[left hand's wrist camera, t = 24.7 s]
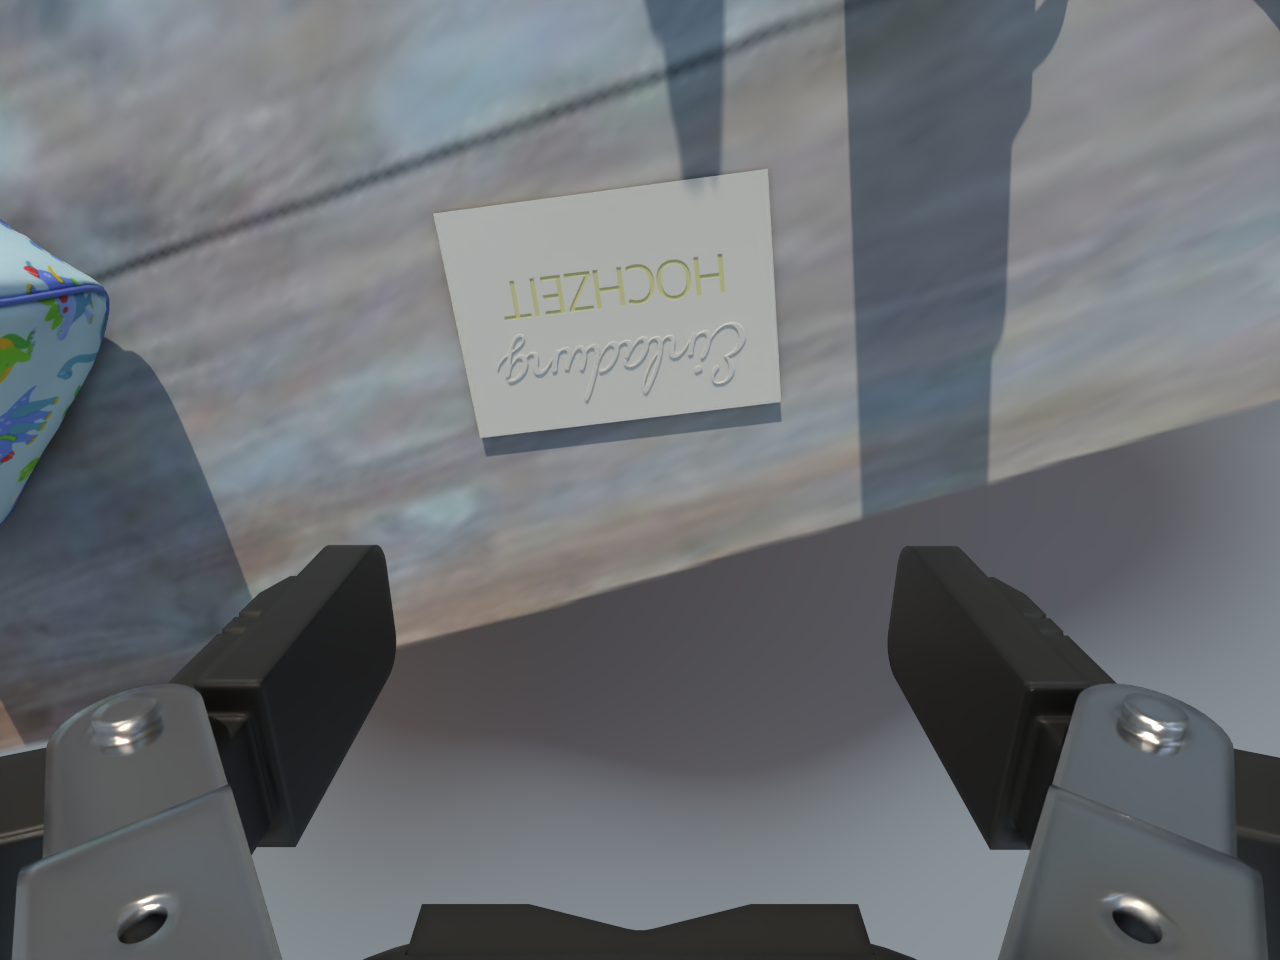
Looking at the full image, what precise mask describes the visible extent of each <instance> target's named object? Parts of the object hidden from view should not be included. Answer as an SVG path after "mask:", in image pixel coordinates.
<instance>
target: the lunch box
mask: <svg viewBox="0 0 1280 960" xmlns="http://www.w3.org/2000/svg"><path fill="white" fill-rule="evenodd" d="M108 315H109V297H108V294H107V292H106V291H105V290H104V288H103V286H102V285H101V284H100V283H98V282H97V281H95V280H94V279H92V278H91V277H89V276H87V275H86V274H84V273H82V272H80V271H79V270H77V269H75V268H73V267H72V266H70V265H69V264H67V263H65V262H64V261H62V260H60V259H59V258H57V257H55V256H54V255H52V254H50V253H48V252H47V251H45V250H44V249H42V248H41V247H39V246H38V245H36V244H35V243H34V242H33V241H31V240H30V239H29V238H28V237H27V236H25V235H23V234H20V233H18V232H16V231H15V230H13V229H12V228H10V227H9V226H8V225H7V224H6V223H5V222H4V221H2V220H1V219H0V524H1V523H2V522H3V521H4V520H5V519H6V518H7V517H8V515H9V514H10V512H11V511H12V509H13V508H14V506H15V505H16V503H17V501H18V499H19V497H20V495H21V493H22V491H23V489H24V487H25V484H26V482H27V480H28V478H29V476H30V474H31V473H32V471H33V469H34V467H35V465H36V464H37V462H38V460H39V459H40V457H41V455H42V453H43V451H44V450H45V448H46V446H47V445H48V443H49V442H50V440H51V439H52V437H53V436H54V434H55V433H56V431H57V430H58V428H59V426H60V424H61V422H62V420H63V418H64V416H65V414H66V412H67V410H68V409H69V407H70V405H71V404H72V402H73V401H74V399H75V397H76V396H77V394H78V392H79V390H80V388H81V386H82V385H83V383H84V381H85V379H86V377H87V375H88V374H89V372H90V370H91V368H92V366H93V364H94V361H95V359H96V357H97V354H98V351H99V348H100V345H101V343H102V340H103V337H104V333H105V329H106V325H107V320H108Z"/></svg>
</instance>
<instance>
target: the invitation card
mask: <svg viewBox="0 0 1280 960" xmlns="http://www.w3.org/2000/svg"><path fill="white" fill-rule="evenodd" d="M433 215H434V220H435V225H436V229H437V234H438V239H439V244H440V249H441V253H442V258H443V263H444V268H445V272H446V277H447V282H448V287H449V291H450V296H451V301H452V306H453V311H454V315H455V320H456V325H457V330H458V334H459V339H460V344H461V349H462V354H463V358H464V363H465V368H466V373H467V377H468V382H469V387H470V392H471V397H472V401H473V406H474V411H475V416H476V420H477V425H478V430H479V435H480V438H485V437H494V436H502V435H510V434H519V433H527V432H535V431H544V430H552V429H560V428H569V427H577V426H585V425H594V424H602V423H610V422H619V421H627V420H635V419H644V418H652V417H660V416H669V415H677V414H685V413H694V412H702V411H710V410H719V409H727V408H735V407H744V406H752V405H760V404H769V403H777V402H781V390H780V373H779V355H778V338H777V320H776V303H775V285H774V268H773V250H772V233H771V215H770V198H769V180H768V169H762V170H755V171H747V172H740V173H733V174H725V175H718V176H710V177H703V178H695V179H688V180H680V181H673V182H665V183H658V184H650V185H643V186H635V187H628V188H621V189H613V190H606V191H598V192H591V193H583V194H576V195H568V196H561V197H553V198H546V199H538V200H531V201H523V202H516V203H509V204H501V205H494V206H486V207H479V208H471V209H464V210H456V211H449V212H441V213H434V214H433Z"/></svg>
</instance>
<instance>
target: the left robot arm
mask: <svg viewBox="0 0 1280 960" xmlns="http://www.w3.org/2000/svg"><path fill="white" fill-rule="evenodd" d="M395 652H396V632H395V625H394V617H393V610H392V602H391V595H390V588H389V580H388V573H387V566H386V560H385V556H384V553H383V550H382V549H381V547H380V546H378V545H328V546H326V547H324V548H323V549H322V550H321V551H320V552H319V553H318V554H317V555H316V557H315V558H314V559H313V560H312V561H311V562H310V563H309V564H308V565H307V566H306V567H305V568H304V569H303V570H302V571H301V572H300V573H299V574H298V575H297V576H290V577H288V578H286V579H284V580H282V581H281V582H279V583H277V584H275V585H273V586H272V587H270V588H268V589H266V590H264V591H262V592H261V593H259V594H258V595H257V596H256V597H255V598H254V599H253V600H252V601H251V602H250V603H249V604H248V605H247V606H246V607H245V608H244V609H243V610H242V611H241V612H240V613H239V617H235V618H234V619H233V620H232V621H231V622H230V623H229V624H228V625H227V626H225V627H224V628H223V629H222V634H217V635H216V636H215V637H214V638H213V639H212V640H211V641H210V642H209V643H208V644H207V645H206V646H205V647H204V648H203V649H202V650H201V651H200V652H199V653H198V654H197V655H196V656H195V657H194V658H193V659H192V660H191V661H190V662H189V663H188V664H187V665H186V666H185V667H184V668H183V669H182V670H181V671H180V672H179V673H178V674H177V675H176V676H175V677H174V678H173V679H172V680H171V681H170V682H169V683H168V684H155V685H147V686H142V687H137V688H134V689H130V690H126V691H123V692H120V693H117V694H114V695H112V696H109V697H107V698H104V699H102V700H100V701H98V702H96V703H94V704H92V705H90V706H88V707H86V708H84V709H83V710H81V711H80V712H78V713H76V714H75V715H74V716H72V717H71V718H69V719H68V720H67V721H66V722H64V723H63V724H62V725H61V726H60V727H59V728H58V729H57V730H56V731H55V733H54V734H53V735H52V736H51V738H50V740H49V742H48V744H47V748H42V749H38V750H32V751H27V752H22V753H17V754H12V755H7V756H2V757H0V960H282V957H281V954H280V951H279V947H278V944H277V941H276V937H275V934H274V930H273V927H272V924H271V920H270V917H269V914H268V910H267V907H266V904H265V900H264V897H263V894H262V890H261V887H260V883H259V880H258V877H257V873H256V870H255V867H254V863H253V860H252V856H251V855H252V854H253V852H254V850H255V849H256V847H296V845H297V843H298V841H299V840H300V838H301V836H302V834H303V832H304V830H305V829H306V827H307V825H308V823H309V821H310V819H311V818H312V816H313V814H314V812H315V810H316V809H317V807H318V805H319V803H320V801H321V799H322V798H323V796H324V794H325V792H326V790H327V788H328V787H329V785H330V783H331V781H332V779H333V778H334V776H335V774H336V772H337V770H338V768H339V767H340V765H341V763H342V761H343V759H344V757H345V756H346V754H347V752H348V750H349V748H350V747H351V745H352V743H353V741H354V739H355V737H356V736H357V734H358V732H359V730H360V728H361V726H362V725H363V723H364V721H365V719H366V717H367V715H368V714H369V712H370V710H371V708H372V706H373V705H374V703H375V701H376V699H377V697H378V695H379V694H380V692H381V690H382V688H383V686H384V685H385V683H386V681H387V679H388V677H389V675H390V673H391V670H392V667H393V664H394V659H395ZM888 655H889V661H890V666H891V669H892V672H893V675H894V677H895V679H896V681H897V682H898V684H899V686H900V688H901V690H902V691H903V693H904V695H905V697H906V699H907V701H908V702H909V704H910V706H911V708H912V710H913V711H914V713H915V715H916V717H917V719H918V720H919V722H920V724H921V726H922V727H923V729H924V731H925V733H926V735H927V737H928V738H929V740H930V742H931V744H932V746H933V747H934V749H935V751H936V753H937V755H938V756H939V758H940V760H941V762H942V764H943V765H944V767H945V769H946V771H947V773H948V774H949V776H950V778H951V780H952V782H953V783H954V785H955V787H956V789H957V791H958V792H959V794H960V796H961V798H962V800H963V801H964V803H965V805H966V807H967V809H968V810H969V812H970V814H971V816H972V818H973V819H974V821H975V823H976V825H977V827H978V828H979V830H980V832H981V834H982V836H983V837H984V839H985V841H986V843H987V845H988V846H989V848H990V849H991V850H1030V853H1029V857H1028V860H1027V863H1026V866H1025V870H1024V873H1023V877H1022V880H1021V883H1020V887H1019V890H1018V893H1017V897H1016V900H1015V904H1014V907H1013V910H1012V914H1011V917H1010V920H1009V924H1008V927H1007V931H1006V934H1005V937H1004V941H1003V944H1002V947H1001V951H1000V954H999V958H998V960H1280V758H1278V757H1273V756H1268V755H1263V754H1258V753H1253V752H1248V751H1243V750H1237V749H1233V744H1232V742H1231V740H1230V738H1229V736H1228V735H1227V734H1226V733H1225V732H1224V730H1223V729H1222V728H1221V727H1220V726H1219V725H1218V724H1217V723H1215V722H1214V721H1213V720H1212V719H1211V718H1209V717H1208V716H1206V715H1205V714H1204V713H1202V712H1200V711H1199V710H1197V709H1196V708H1194V707H1192V706H1190V705H1188V704H1186V703H1184V702H1182V701H1180V700H1178V699H1175V698H1173V697H1171V696H1168V695H1166V694H1163V693H1160V692H1157V691H1154V690H1150V689H1146V688H1142V687H1137V686H1133V685H1125V684H1117V683H1116V682H1115V681H1114V680H1113V679H1112V678H1111V677H1110V676H1109V675H1107V674H1106V673H1105V672H1104V671H1103V670H1102V669H1101V668H1100V667H1099V666H1098V665H1097V664H1096V663H1095V662H1094V661H1093V660H1092V659H1091V658H1090V657H1089V656H1088V655H1087V654H1086V653H1085V652H1084V651H1083V650H1082V649H1081V648H1080V647H1079V646H1078V645H1077V644H1076V643H1075V642H1074V641H1073V640H1072V639H1071V638H1070V637H1068V636H1064V635H1063V631H1062V630H1061V629H1060V628H1059V627H1058V626H1057V625H1056V624H1055V623H1054V622H1053V621H1052V620H1051V619H1047V618H1046V614H1045V613H1044V612H1043V611H1042V610H1041V609H1040V608H1039V607H1038V606H1037V605H1036V604H1035V603H1034V602H1033V601H1032V600H1031V599H1030V598H1029V597H1028V596H1026V595H1025V594H1024V593H1022V592H1020V591H1018V590H1016V589H1015V588H1013V587H1011V586H1009V585H1007V584H1005V583H1004V582H1002V581H1000V580H998V579H996V578H994V577H987V576H986V575H985V574H984V573H983V572H982V571H981V570H980V569H979V568H978V567H977V565H976V564H975V563H974V562H973V561H972V560H971V559H970V558H969V557H968V556H967V555H966V554H965V553H964V552H963V551H962V550H961V549H960V548H959V547H957V546H906V547H905V548H904V549H903V550H902V552H901V554H900V557H899V560H898V566H897V573H896V581H895V588H894V595H893V603H892V610H891V617H890V624H889V631H888ZM364 960H916V959H914V958H912V957H909V956H906V955H904V954H901V953H898V952H895V951H893V950H890V949H887V948H884V947H881V946H877V945H873V944H870V941H869V938H868V934H867V931H866V928H865V925H864V922H863V919H862V916H861V913H860V909H859V906H858V904H750V905H746V906H742V907H738V908H734V909H730V910H726V911H722V912H718V913H714V914H710V915H706V916H702V917H698V918H694V919H690V920H686V921H682V922H678V923H674V924H670V925H666V926H662V927H659V928H654V929H650V930H631V929H626V928H622V927H618V926H614V925H610V924H606V923H602V922H598V921H594V920H590V919H586V918H582V917H578V916H574V915H570V914H566V913H562V912H558V911H554V910H550V909H546V908H542V907H538V906H534V905H530V904H422V906H421V909H420V913H419V916H418V919H417V922H416V925H415V928H414V931H413V935H412V938H411V941H410V944H407V945H403V946H399V947H396V948H393V949H390V950H387V951H385V952H382V953H379V954H376V955H374V956H371V957H368V958H366V959H364Z"/></svg>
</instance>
